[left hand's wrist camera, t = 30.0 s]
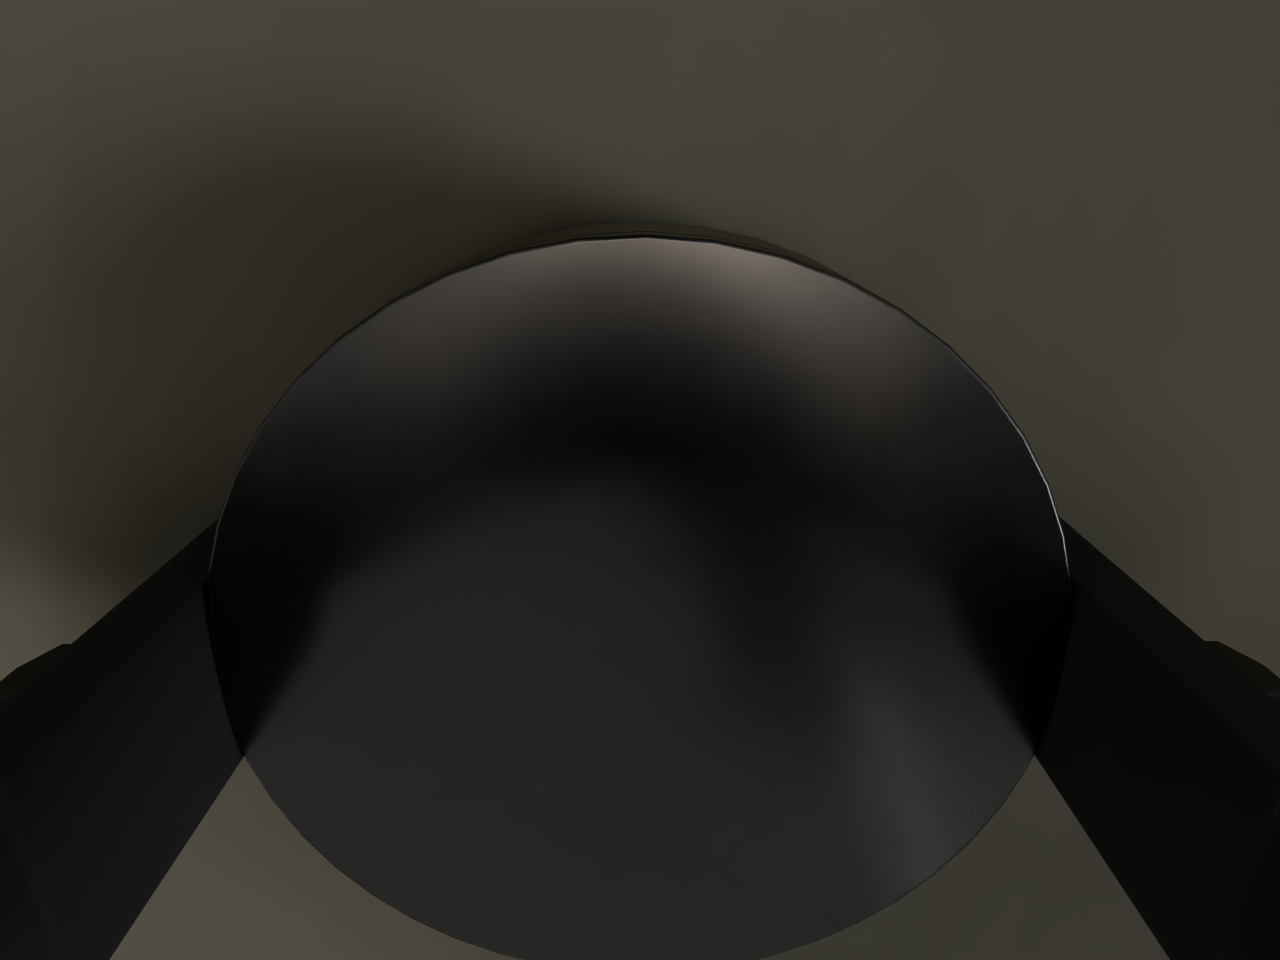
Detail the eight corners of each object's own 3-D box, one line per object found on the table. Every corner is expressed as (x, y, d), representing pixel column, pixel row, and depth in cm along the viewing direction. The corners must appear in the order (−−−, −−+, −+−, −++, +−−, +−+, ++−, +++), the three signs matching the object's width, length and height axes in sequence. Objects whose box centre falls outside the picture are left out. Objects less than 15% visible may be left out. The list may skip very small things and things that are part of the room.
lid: (371, 897, 14) (334, 1002, 13) (166, 276, 10) (67, 300, 9) (990, 842, 14) (1042, 942, 12) (1030, 168, 10) (1116, 170, 8)
